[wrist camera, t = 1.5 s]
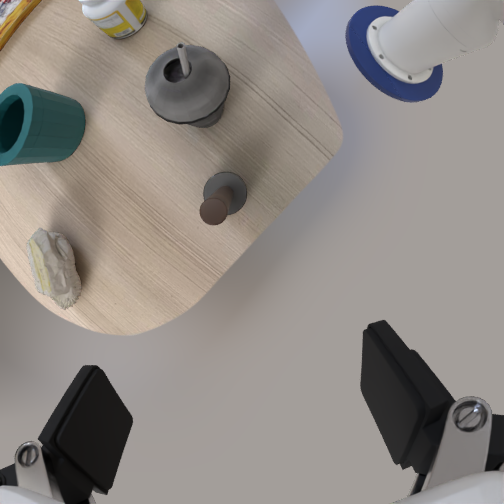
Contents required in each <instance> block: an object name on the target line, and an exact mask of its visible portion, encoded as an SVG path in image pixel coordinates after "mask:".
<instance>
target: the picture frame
mask: <svg viewBox="0 0 504 504" xmlns="http://www.w3.org/2000/svg"><path fill="white" fill-rule="evenodd" d="M40 1H41V0H0V51H1V49H2V48H3V47H4V45H5V44H6V42H7V41H8V40H9V38H10V37H11V36H12V34H13V33H14V32H15V30H16V29H17V28H18V27H19V25H20V24H21V23H22V22H23V21H24V19H25V18H26V17H27V16H28V15H29V14H30V12H31V11H32V10H33V9H34V8H35V7H36V6H37V5H38V4H39V3H40Z"/></svg>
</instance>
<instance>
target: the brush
mask: <svg viewBox="0 0 504 504" xmlns="http://www.w3.org/2000/svg"><path fill="white" fill-rule="evenodd" d="M203 196H204V202H203V203H202V205H201V207H200V216H201V218H202V220H203V221H204V222H205V223H207V224H209V225H218V224H221V223H222V222H223V221H224V220H225V219H226V217H227V215H231V214H234V213H236V212H237V211H239V210H240V209H241V208H242V207H243V205H244V204H245V201H246V198H247V189H246V185H245V183H244V181H243V179H242V178H241V177H240V176H238V175H237V174H235V173H232V172H221V173H218V174H215V175H214V176H212V177H211V178H210V179H209V180H208V181H207V183H206V185H205V187H204V192H203Z"/></svg>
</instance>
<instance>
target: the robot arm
mask: <svg viewBox="0 0 504 504" xmlns="http://www.w3.org/2000/svg"><path fill="white" fill-rule="evenodd" d="M499 20H500V21H501V22H502V23H503V24H504V0H413V1H412V2H411V3H410V4H408V5H407V6H406V7H405V8H403V9H402V10H401V11H400V12H398V13H397V14H396V15H395V16H394V17H386V16H384V17H379V18H377V19H375V20H374V21H373V22H372V23H371V24H370V25H369V27H368V29H367V35H366V37H367V43H368V47H369V49H370V51H371V53H372V55H373V57H374V58H375V60H376V61H377V62H378V64H379V65H380V66H381V67H382V68H383V69H384V70H385V71H386V72H387V73H389V74H390V75H391V76H393V77H394V78H396V79H398V80H400V81H402V82H405V83H410V84H418V83H421V82H423V81H425V80H427V79H428V78H429V77H430V76H431V74H432V71H433V67H435V66H437V65H440V64H442V63H444V62H447V61H450V60H452V59H455V58H458V57H460V56H463V55H466V54H469V53H472V52H474V51H477V50H480V49H483V48H486V47H488V46H489V45H491V44H492V43H493V41H494V40H495V38H496V35H497V31H498V25H499ZM360 386H361V391H362V394H363V396H364V399H365V401H366V403H367V405H368V407H369V409H370V411H371V413H372V415H373V418H374V419H375V422H376V424H377V426H378V428H379V431H380V433H381V435H382V437H383V439H384V442H385V444H386V446H387V448H388V450H389V453H390V455H391V457H392V459H393V462H394V463H395V464H396V465H397V464H400V465H401V467H402V469H405V468H408V467H410V466H412V467H413V469H414V471H415V472H416V473H417V475H416V477H415V480H414V482H413V485H412V487H411V490H410V492H409V494H408V496H407V498H404V499H401V500H399V501H396V502H393V503H391V504H504V415H496V414H492V410H491V408H490V406H489V404H488V403H486V401H485V400H483V399H481V398H478V397H474V396H470V397H464V398H461V399H459V400H458V401H455V400H454V399H453V397H452V396H451V394H450V393H449V392H448V390H447V389H446V388H445V387H444V385H443V384H442V383H441V382H440V380H439V379H438V378H437V377H436V375H435V374H434V373H433V372H432V370H431V369H430V368H429V366H428V365H427V364H426V363H425V361H424V360H423V359H422V358H421V357H420V355H419V354H418V353H417V352H416V351H415V350H410V349H409V348H408V347H407V346H406V345H405V343H404V342H403V341H402V340H401V338H400V337H399V336H398V335H397V334H396V332H395V331H394V330H393V329H392V328H391V326H390V325H389V324H388V323H387V322H386V321H385V320H382V321H378V322H375V323H371V324H369V325H368V327H367V329H366V330H364V331H363V348H362V369H361V385H360ZM132 423H133V418H132V416H131V414H130V412H129V411H128V410H127V408H126V407H125V405H124V403H123V402H122V400H121V399H120V397H119V396H118V394H117V393H116V391H115V389H114V388H113V386H112V385H111V383H110V381H109V380H108V378H107V376H106V374H105V373H104V371H103V370H102V369H100V368H99V367H98V366H96V365H85V366H83V367H82V368H81V369H80V371H79V373H78V374H77V375H76V377H75V378H74V380H73V382H72V383H71V385H70V386H69V388H68V389H67V391H66V392H65V394H64V396H63V397H62V399H61V401H60V402H59V404H58V405H57V407H56V409H55V410H54V412H53V413H52V415H51V417H50V419H49V420H48V422H47V424H46V425H45V427H44V429H43V431H42V433H41V434H40V436H39V438H38V440H39V441H40V442H41V443H42V444H43V446H42V447H41V446H40V445H39V444H38V443H36V442H33V441H29V442H26V443H24V444H22V445H21V446H20V447H19V448H18V449H17V451H16V454H15V463H14V464H12V465H10V466H8V467H5V468H3V469H1V470H0V504H96V502H95V500H94V498H93V496H92V494H91V493H92V490H94V491H95V492H97V493H100V494H105V495H107V494H108V490H109V489H111V488H112V485H113V482H114V478H115V476H116V472H117V469H118V466H119V463H120V459H121V456H122V453H123V450H124V447H125V444H126V441H127V438H128V435H129V433H130V430H131V427H132Z"/></svg>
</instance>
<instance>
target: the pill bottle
mask: <svg viewBox="0 0 504 504" xmlns="http://www.w3.org/2000/svg"><path fill="white" fill-rule="evenodd" d="M79 1H80V2H81V3H82V4H83V7H82V10H83V14H84V15H85V16H86V17H87V18H88V19H89V20H91V21H92V22H93V23H94V24H95V25H96V26H98V27H99V28H100V29H101V30H102V31H104V32H105V33H106V34H107V35H108V36H110V37H112V38H115V39H121V38H126V37H128V36H130V35H132V34H134V33H135V32H137V31H138V30H139V29H140V28H141V27H142V26H143V24H144V23H145V21H146V18H147V12H146V9H145V8H144V6H143V5H142V3H141V2H140V0H79Z"/></svg>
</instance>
